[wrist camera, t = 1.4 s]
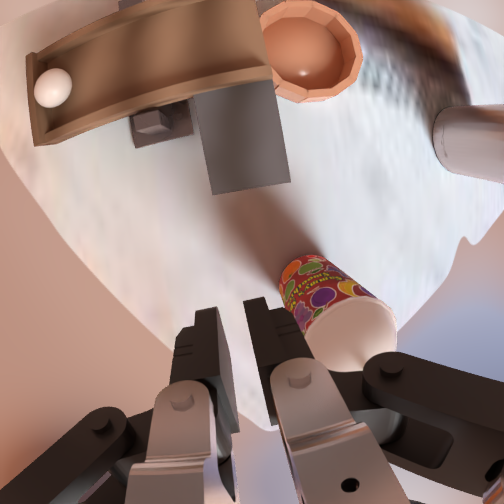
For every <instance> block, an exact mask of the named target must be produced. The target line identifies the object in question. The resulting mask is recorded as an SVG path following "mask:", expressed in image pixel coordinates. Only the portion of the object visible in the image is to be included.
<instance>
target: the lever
mask: <svg viewBox="0 0 504 504" xmlns="http://www.w3.org/2000/svg"><path fill="white" fill-rule="evenodd" d="M54 68H58V69H63V70H64V71H66V72H67V73H68V74H69V75H70V77H71V80H72V89H71V92H70V95H69V96H68V98H67V99H66V100H65V101H64V102H63V103H62V104H60V105H59V106H56V107H52V108H47V107H43V106H41V105H40V104H39V103H38V102H37V101H36V99H35V96H34V87H35V84H36V81H37V80H38V78H39V77H40V76H41V75H42V74H43V73H44V72H46V71H48V70H50V69H54ZM26 77H27V92H28V104H29V113H30V122H31V129H32V136H33V143H34V147H35V146H44V145H53V144H58V143H60V142H62V141H65V140H67V139H69V138H72V137H74V136H77V135H79V134H81V133H84V132H86V131H89V130H91V129H94V128H97V127H99V126H102V125H105V124H107V123H110V122H113V121H116V120H118V119H121V118H124V117H127V116H130V115H133V114H136V113H139V112H143V111H146V110H149V109H152V108H156V107H159V106H163V105H166V104H170V103H173V102H177V101H181V100H185V99H189V98H193V97H194V102H195V108H196V113H197V118H198V124H199V129H200V134H201V139H202V144H203V150H204V155H205V160H206V165H207V170H208V175H209V180H210V185H211V189H212V194H213V195H217V194H223V193H228V192H234V191H240V190H245V189H251V188H257V187H263V186H270V185H276V184H282V183H289V182H291V180H290V173H289V167H288V161H287V155H286V149H285V143H284V138H283V132H282V126H281V121H280V116H279V110H278V105H277V100H276V94H275V89H274V84H273V73H272V68H271V65H269V60H268V55H267V50H266V46H265V41H264V37H263V32H262V28H261V24H260V19H259V15H258V11H257V6H256V2H255V0H147V1H144V2H141V3H139V4H136V5H133V6H131V7H128V8H126V9H123V10H121V11H118V12H116V13H113V14H111V15H109V16H107V17H104V18H102V19H100V20H98V21H96V22H93V23H91V24H89V25H87V26H85V27H83V28H81V29H79V30H77V31H75V32H73V33H72V34H70V35H68V36H66V37H64V38H62V39H61V40H59V41H57V42H55V43H54V44H52V45H50V46H48V47H47V48H45V49H43V50H42V51H40V52H39V53H33V52H31V53H30V54H28V55H27V56H26Z"/></svg>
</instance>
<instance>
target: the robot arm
mask: <svg viewBox="0 0 504 504" xmlns="http://www.w3.org/2000/svg"><path fill="white" fill-rule="evenodd" d="M433 143H434V148H435V151H436V154H437V157H438V159H439V161H440V162H441V164H442V165H443V166H444V167H445V168H446V169H447V170H448V171H450V172H452V173H455V174H460V175H465V176H470V177H474V178H479V179H483V180H488V181H493V182H497V183H501V184H504V104H496V105H472V106H455V107H448V108H445V109H444V110H442V111H441V112H440V113H439V114H438V116H437V118H436V120H435V124H434V128H433ZM243 304H244V309H245V313H246V318H247V322H248V327H249V331H250V336H251V340H252V345H253V349H254V354H255V358H256V362H257V367H258V371H259V376H260V380H261V384H262V389H263V393H264V397H265V401H266V406H267V410H268V414H269V418H270V422H271V426H273V425H277V424H278V425H279V429H280V432H281V436H282V440H283V446H284V449H285V453H286V457H287V460H288V464H289V468H290V471H291V475H292V478H293V481H294V485H295V489H296V493H297V496H298V500H299V504H425V503H421V502H418V501H414V500H409V499H408V498H407V496H406V494H405V492H404V490H403V489H402V487H401V485H400V483H399V481H398V479H397V478H396V476H395V474H394V472H393V470H392V468H391V466H390V465H389V463H391V464H394V465H396V466H398V467H400V468H403V469H405V470H408V471H410V472H412V473H415V474H417V475H420V476H422V477H425V478H427V479H430V480H432V481H435V482H438V483H441V484H443V485H446V486H448V487H451V488H454V489H457V490H460V491H463V492H466V493H469V494H472V495H475V496H479V497H482V498H483V504H504V382H500V381H497V380H493V379H489V378H485V377H482V376H478V375H475V374H471V373H468V372H464V371H460V370H457V369H454V368H451V367H447V366H444V365H440V364H437V363H433V362H431V361H427V360H424V359H421V358H417V357H414V356H411V355H408V354H405V353H401V352H393V351H390V352H383V353H380V354H377V355H375V356H373V357H371V358H370V359H369V360H368V361H367V362H366V363H365V365H364V367H363V371H351V372H337V371H332V370H329V369H327V368H326V366H325V365H324V364H323V363H321V362H320V361H318V360H315V358H314V356H313V354H312V352H311V350H310V348H309V346H308V344H307V342H306V340H305V338H304V335H303V333H302V331H301V329H300V327H299V325H298V324H297V321H296V319H295V317H294V315H293V313H291V312H290V311H288V310H286V309H285V308H283V307H281V308H277V309H272V310H269V309H268V306H267V303H266V300H265V298H264V297H260V298H255V299H250V300H246V301H243ZM173 356H174V358H173V361H172V369H171V375H170V383H169V386H167V387H165V388H164V389H163V390H162V391H161V392H160V393H159V394H158V395H157V397H156V400H155V404H154V408H152V409H151V410H148V411H146V412H143V413H141V414H137V415H134V416H132V417H128V418H127V417H126V416H125V414H124V413H123V412H122V411H121V410H119V409H118V408H115V407H102V408H99V409H96V410H94V411H92V412H90V413H89V414H88V415H86V416H85V417H84V418H83V419H82V420H81V421H79V422H78V423H77V424H76V425H75V426H74V427H73V428H72V429H70V430H69V431H68V432H67V433H66V434H65V435H63V436H62V437H61V438H60V439H59V440H58V441H57V442H55V443H54V444H53V445H52V446H51V447H50V448H49V449H48V450H46V451H45V452H44V453H43V454H42V455H40V456H39V457H38V458H37V459H36V460H35V461H34V462H32V463H31V464H30V465H29V466H28V467H27V468H25V469H24V470H23V471H22V472H21V473H20V474H19V475H17V476H16V477H15V478H14V479H13V480H11V481H10V482H9V483H8V484H7V485H6V486H4V487H3V488H2V489H1V490H0V504H240V501H239V492H238V484H237V476H236V467H235V459H234V452H233V450H232V439H231V434H232V433H238V432H240V429H239V421H238V413H237V406H236V398H235V390H234V382H233V373H232V365H231V358H230V352H229V348H228V344H227V340H226V337H225V333H224V329H223V326H222V322H221V318H220V314H219V311H218V308H217V307H212V308H207V309H202V310H197V311H195V323H194V326H190V327H185V328H183V329H182V330H181V331H180V333H179V334H178V335H177V337H176V341H175V349H174V354H173ZM388 462H389V463H388ZM107 471H109V473H110V474H111V476H110V477H109V478H108V479H107V480H106V481H105V482H104V483H103V484H102V485H101V486H100V487H99V488H98V489H97V490H96V491H95V492H94V493H93V494H92V495H91V496H90V497H89V498H88V499H87V500H86V501H84V502H82V503H78V500H79V499H80V498H81V496H82V495H84V494H85V493H86V492H87V491H88V490H89V489H90V488H91V487H92V486H93V485H94V484H95V483H96V482H97V481H98V480H99V479H100V478H101V477H102V476H103V475H104V474H105V473H106V472H107Z"/></svg>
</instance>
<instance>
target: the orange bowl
mask: <svg viewBox="0 0 504 504" xmlns="http://www.w3.org/2000/svg"><path fill="white" fill-rule="evenodd" d="M260 24H261V28H262V32H263V37H264V41H265V46H266V50H267V55H268V60H269V65H271V68H272V73H273V84H274V89H275V94H276V95H278V96H280V97H283V98H286V99H288V100H290V101H293V102H295V103H305V102H316V101H324V100H326V99H329V98H331V97H334V96H336V95H338V94H339V93H340V92H342V91H343V90H344V89H346V88H347V87H348V86H350V85H351V84H353V83H354V82H355V81H356V79H357V76H358V73H359V70H360V67H361V64H362V61H363V59H362V58H363V55H362V51H361V47H360V43H359V39H358V35H357V34H356V32H355V30H354V29H353V28H352V27H351V26H350V25H349V23H348V22H347V21H346V20H345V19H344V18H343V17H342V16H341V14H340V13H339V14H338V12H337V11H335V10H332V9H330V8H328V7H326V6H324V5H322V4H319V3H317V2H315V1H313V2H312V1H308V0H294V1H283V2H281V3H280V4H278V5H276V6H274V7H272V8H271V9H269V10H267V11H266V12H264V13H263V14H262V15H261V17H260Z"/></svg>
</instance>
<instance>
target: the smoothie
mask: <svg viewBox="0 0 504 504" xmlns="http://www.w3.org/2000/svg"><path fill="white" fill-rule="evenodd" d="M279 291H280V294H281V297H282V300H283V303H284V306H285V309H286V310H288V311H290V312H291V313H293V315H294V317H295V319H296V321H297V324H298V325H299V327H300V329H301V331H302V333H303V335H304V338H305V340H306V342H307V344H308V346H309V348H310V350H311V352H312V354H313V356H314V358H315V360H318V361H320V362H321V363H323V364H324V365H325V366H326V368H327V369H329V370H332V371H337V372H351V371H363V367H364V365H365V363H366V362H367V361H368V360H369V359H370V358H371V357H373V356H375V355H377V354H380V353H383V352H390V351H393V352H396V348H397V328H396V318H395V316H394V314H393V312H392V310H391V308H390V307H389V306H387V305H386V304H385V303H384V302H383V301H381V300H379V299H378V298H376V297H375V296H374V295H373V294H371V293H370V292H369V291H367V290H366V289H365V288H364V287H362V286H361V285H360V284H358V283H357V282H356V281H355V280H353V279H352V278H351V277H349V276H348V275H347V274H345V273H344V272H343V271H342V270H340V269H339V268H338V267H336V266H335V265H334V264H332V263H331V262H330V261H328V260H327V259H325V258H324V257H322V256H318V255H305V256H302V257H299V258H297V259H295V260H294V261H292V262H291V263H290V264H288V266H287V267H286V268H285V270H284V271H283V272H282V275H281V278H280V281H279Z"/></svg>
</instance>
